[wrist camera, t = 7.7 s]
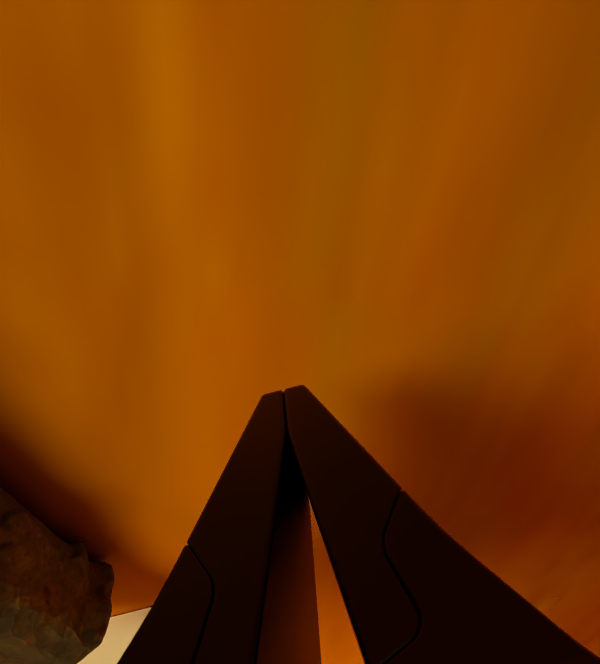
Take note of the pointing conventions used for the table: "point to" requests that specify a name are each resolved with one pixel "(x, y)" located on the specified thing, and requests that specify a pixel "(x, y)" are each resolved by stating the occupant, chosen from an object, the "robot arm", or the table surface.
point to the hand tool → (48, 592)
